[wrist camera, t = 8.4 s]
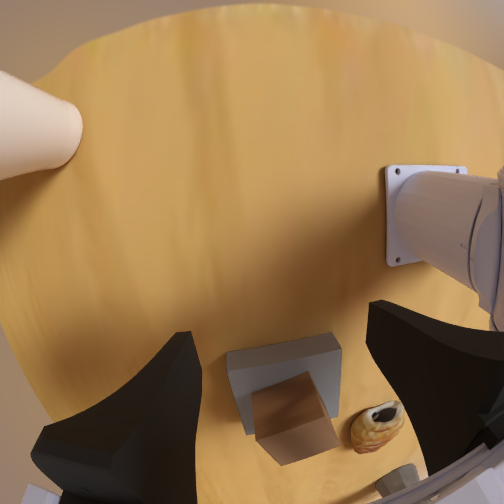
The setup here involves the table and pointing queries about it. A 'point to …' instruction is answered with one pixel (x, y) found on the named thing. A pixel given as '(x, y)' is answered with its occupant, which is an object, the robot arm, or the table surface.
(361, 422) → the pastry
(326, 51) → the table surface
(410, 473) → the coffeepot
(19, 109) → the drinking glass
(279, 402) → the walnut cube
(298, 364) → the block
